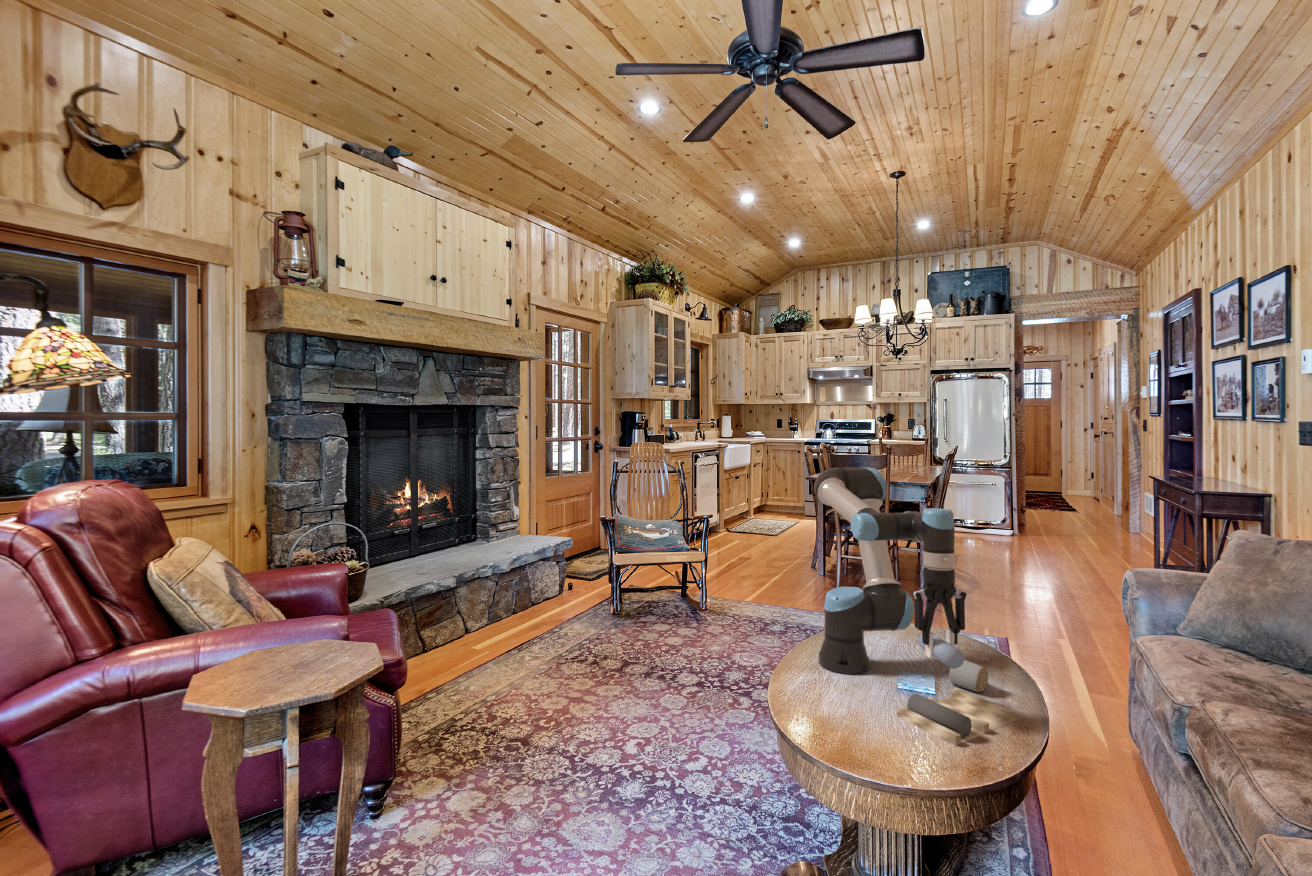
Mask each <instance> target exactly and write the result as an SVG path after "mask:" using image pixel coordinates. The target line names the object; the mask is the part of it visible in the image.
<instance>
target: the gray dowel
mask: <svg viewBox="0 0 1312 876" xmlns="http://www.w3.org/2000/svg"><path fill="white" fill-rule="evenodd" d="M917 642H918V645H919V647H920V648H921V649H923V650H924V651H925V652H926V647H925V644H924V643H923V642H922V633H921V634H920V635H919V637H918V641H917ZM933 658H935V659H937V660H938V661H940V662H942V663H943V664H944V665H946V666H947V667H949V669H950V668H954V669H955V668H959V667H960V666H961V665H962V664H963V662H964V660H965V656H964V653H963V652H962V650H960V649H959V648H957V647H956V646H955V647H954V646H952V645H951V644H949V643H947V642H946V640H944V639H943V638H941V637H939V636H938V635H937V634H934V633H933Z"/></svg>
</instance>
